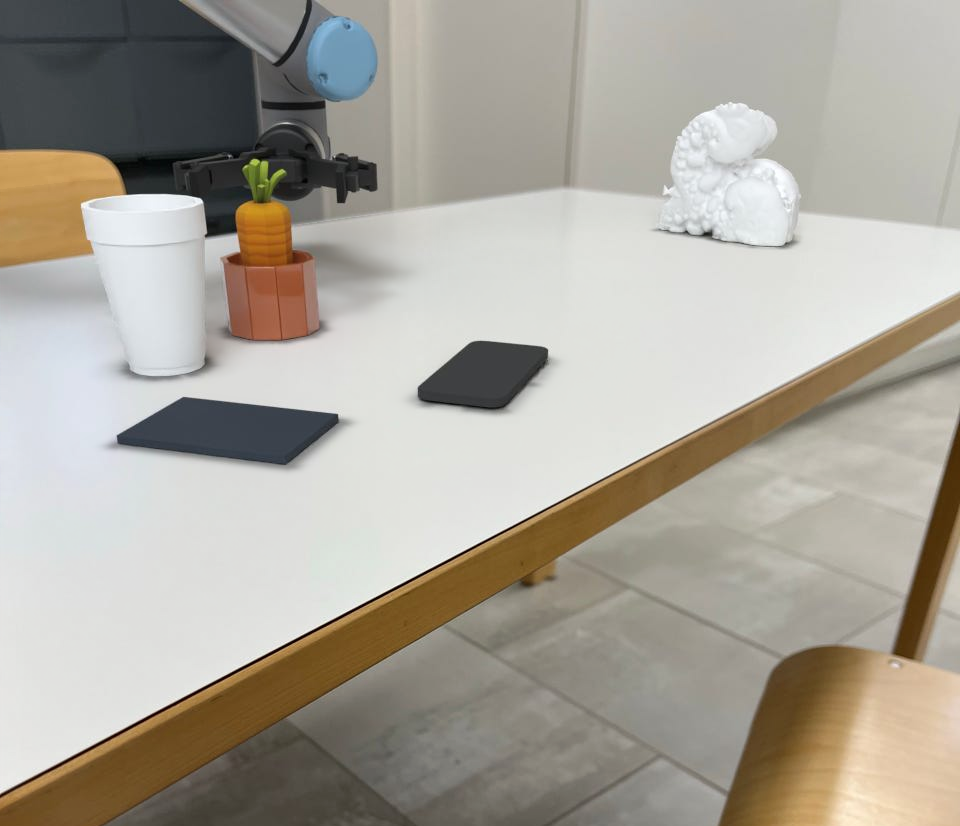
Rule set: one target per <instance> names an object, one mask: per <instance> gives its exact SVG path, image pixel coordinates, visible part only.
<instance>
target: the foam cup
mask: <svg viewBox="0 0 960 826" xmlns="http://www.w3.org/2000/svg"><path fill="white" fill-rule="evenodd" d="M80 209H81V213H82V215H81V216H82V219H83V224H84V225H83V226H84V230H85V236H86V240H87V241H89V242H90V245H91V248H92V252H93V255H94V258H95V262H96V265H97V267H98V271H99V273H100V274H99V275H100V277H101V281H102V284H103V287H104V291H105V293H106V297H107V300H108V303H109V307H110V310H111V313H112V316H113V320H114V322H115V326H116V329H117V332H118V336H119V338H120V342H121V344H122V346H121V347H122V349H123V352H124V355H125V358H126V362H127V364H129V365H128V366H129V370H130V372H132V373H135V374H137V375H139V376H140V375H141V376H149V377H171V376H178V375H185V374H188V373H192V372H196V371H199V370H200V369H201V368H202V367H204V366H205V365H206V362H205V357H206V235H207V234H208V230H207V221H206V214H205V213H206V212H205V203H204V201H202V200H201V199H200V198H196V197H192V195H191V196H190V195H185V194H184V195H183V194H172V193H171V194H169V193H140V194H139V193H138V194H126V195H125V194H124V195H113V196H111V195H110V196H106V197H99V198H93V199H90V200H87V201H84V202H81V203H80Z"/></svg>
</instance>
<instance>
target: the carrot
mask: <svg viewBox="0 0 960 826" xmlns="http://www.w3.org/2000/svg"><path fill="white" fill-rule="evenodd" d="M243 172H244V175H245V177H246V179H247V181H248V182H249V184H250V186H251V189H250V190H251V193H252V199H253V200H249V201H247V202H244V203H243V204H241V205H239V206H238V208H237V209H236V211H235V224H236V233H237V240H238V246H239V252H240V253H241V259H242V264H243V265H244V266H279V265H287V264H292V263H293V254H292V250H293V234H292V233H293V231H292V217H291V211H290V210H289V208H288V207H287V206H286V205H285V204H283V203H281V202H279V201H276V200H271V197H272V196H271V194H272V191H273V189H274V187H275V186H276V184H277V183H278V181H279V180H280V179H282V178H283V177H285V176H286V175H287V173H286V171H284V170H283V169H281V170H279V171H277V172H276V173H274V174H273V176H272V178H271V179H270V181H269V180H268V179H267V174H268V162H266V161H262V162H261V164H260V161H259V160H258V159H253V160H251V162H250V163H249V165H246V166H245V167H244V168H243Z"/></svg>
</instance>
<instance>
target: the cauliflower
mask: <svg viewBox="0 0 960 826" xmlns="http://www.w3.org/2000/svg"><path fill="white" fill-rule="evenodd" d="M777 135H778V126H777V121H775V120H774V119H773V117H771V116H770V115H768V114H765V112H763V111H761V110H759V109H756V110H755V109H752V108H749V106H748V105H747V104H745V103H742V102H737V103H736V102H735V103H733V102H732V101H729V102H728V103H725V104H723V103H720V104H719V105H717V106H715V108H714V109H712V110H711V109H710V110H707V111H704V112H702V113H700V114H699V115H696V116H695V117H694V118H693V119H692V120H690V121H689V122H688V124H687V126H685V127H684V128H683V129H682V130H681V135H678V136H677V137H676V141H675V145H674V149H673V153H672V155H671V159H670V165H669V174H670V177H671V179H672V180H673V185H672V187H669V189H668V187H667V185H666V184H664V186H663V189H662V194H661V195H662V197H664V196H666V195H668V196H669V198H668V199H667V200H666V201H665V202H664V203H663V205H662V206H661V208H660V211H659V214H658V222H657V229H658V230H660V231H669V232H670V233H685V232H688V234H690V235H692V236H702V235H704V234H705V233H709V232H711V233H712V234H711V239H712V238H713V239H715V240H721V241H723V242H729V243H731V242H732V243H734V242H735V243H741V244H744V245H750V246H759V247H760V246H762V247H782V246H785V244H788V243H790V242H791V241H792V240H793V237H794V235H795V231H796V229H797V225H798V220H799V212H800V205H801V198H802V194H801V193H800V189H799V185H798V183H797V180H796V178H795V176H794V175H793V174H792V172H791V171H790V170H789V169H788V168H785V167H784V166H783V165H782V164H780V163H779V162H778V161H776V160H772V159H769V158H765V157H764V158H757V157H759V156H760V155H762V154H763V153H765V151H766V150H767V149H768V147H770V145H771V144H772V143H773V142H774V141H775V140H776V138H777Z"/></svg>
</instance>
